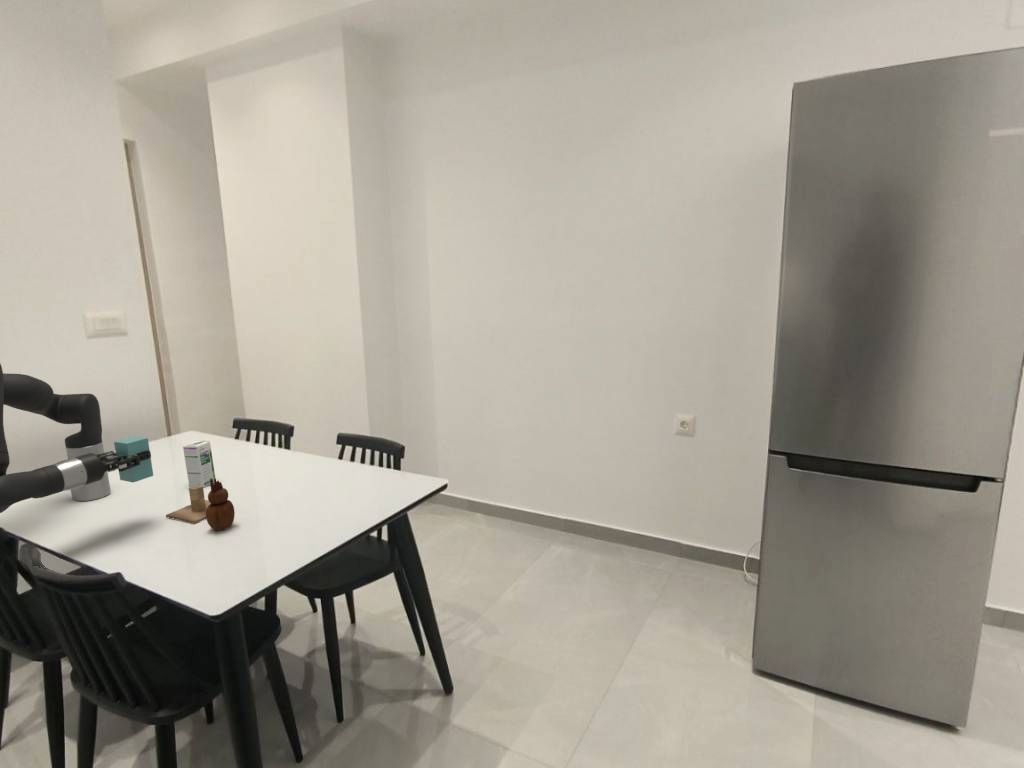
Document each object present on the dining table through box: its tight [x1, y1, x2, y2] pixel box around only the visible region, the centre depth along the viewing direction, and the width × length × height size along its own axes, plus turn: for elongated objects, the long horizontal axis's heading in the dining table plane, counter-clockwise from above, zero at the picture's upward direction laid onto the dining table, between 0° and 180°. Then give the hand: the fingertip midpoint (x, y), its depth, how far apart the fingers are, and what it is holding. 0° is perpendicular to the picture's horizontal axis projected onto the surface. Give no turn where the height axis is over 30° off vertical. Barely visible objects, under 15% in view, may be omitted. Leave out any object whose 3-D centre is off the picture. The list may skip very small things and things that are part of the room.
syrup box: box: [182, 440, 216, 489], centre depth 185 cm, size 6×6×14 cm
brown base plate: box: [165, 485, 211, 525], centre depth 163 cm, size 12×12×8 cm
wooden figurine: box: [205, 477, 235, 532], centre depth 152 cm, size 7×6×15 cm
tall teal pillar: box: [113, 435, 154, 483], centre depth 154 cm, size 6×6×11 cm
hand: (142, 452), depth 156 cm, fingers closed on tall teal pillar, 5 cm apart
